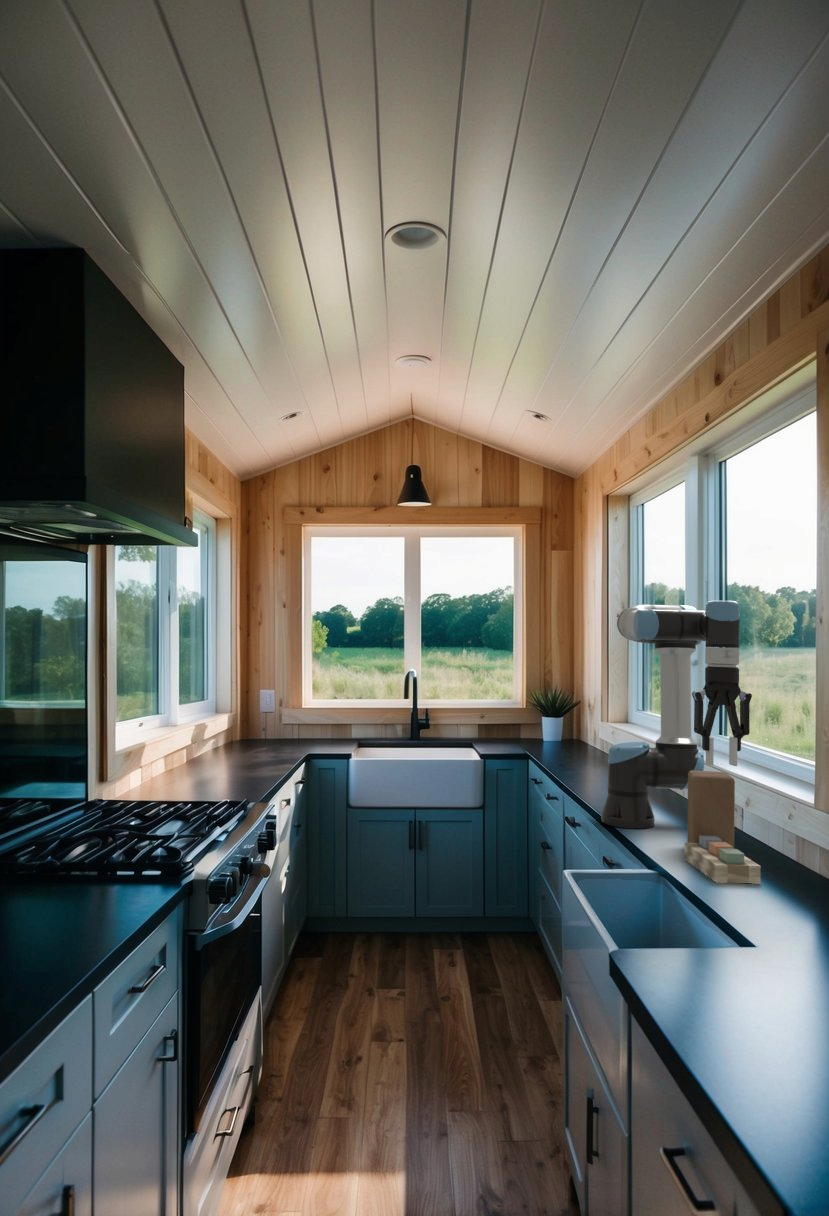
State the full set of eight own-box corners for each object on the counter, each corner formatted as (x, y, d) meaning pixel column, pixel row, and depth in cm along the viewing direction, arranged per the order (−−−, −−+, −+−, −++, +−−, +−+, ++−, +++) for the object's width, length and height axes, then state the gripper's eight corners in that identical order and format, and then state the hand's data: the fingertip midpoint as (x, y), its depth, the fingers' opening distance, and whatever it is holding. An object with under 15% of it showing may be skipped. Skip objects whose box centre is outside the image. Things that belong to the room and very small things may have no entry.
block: (734, 859, 193) (735, 778, 194) (692, 856, 195) (693, 775, 196) (727, 849, 203) (727, 771, 204) (686, 846, 205) (687, 769, 206)
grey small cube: (698, 852, 191) (699, 835, 191) (715, 852, 191) (715, 835, 191) (705, 856, 187) (705, 839, 187) (721, 856, 187) (722, 839, 187)
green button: (719, 866, 179) (719, 848, 179) (736, 866, 179) (736, 849, 179) (726, 871, 175) (726, 853, 175) (744, 871, 175) (744, 853, 175)
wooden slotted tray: (684, 859, 192) (684, 842, 192) (724, 859, 192) (724, 843, 193) (715, 883, 173) (716, 865, 173) (760, 884, 173) (760, 865, 174)
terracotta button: (708, 858, 185) (708, 841, 185) (725, 859, 185) (725, 842, 185) (715, 863, 181) (715, 846, 181) (732, 864, 181) (732, 846, 181)
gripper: (690, 665, 181) (689, 766, 180) (767, 667, 181) (766, 768, 180) (678, 664, 188) (677, 761, 187) (752, 666, 189) (751, 763, 188)
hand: (721, 764), depth 184 cm, fingers open, 5 cm apart
